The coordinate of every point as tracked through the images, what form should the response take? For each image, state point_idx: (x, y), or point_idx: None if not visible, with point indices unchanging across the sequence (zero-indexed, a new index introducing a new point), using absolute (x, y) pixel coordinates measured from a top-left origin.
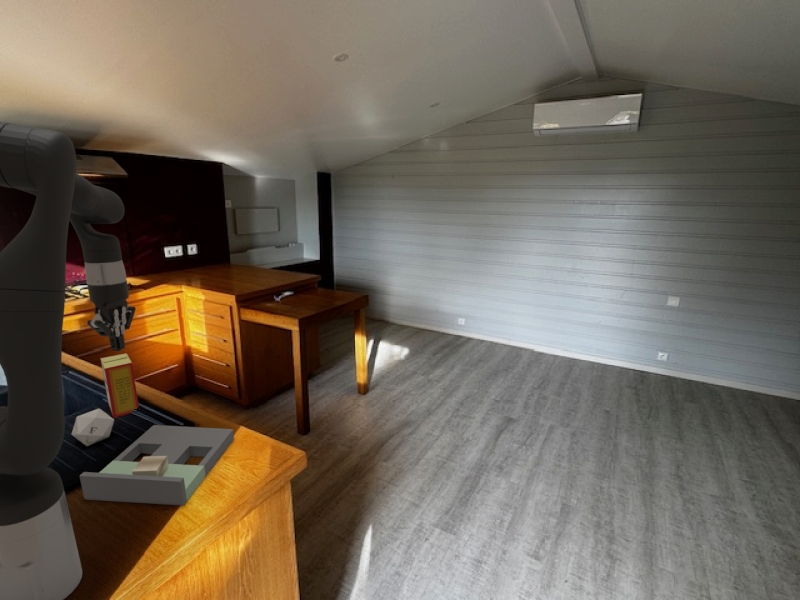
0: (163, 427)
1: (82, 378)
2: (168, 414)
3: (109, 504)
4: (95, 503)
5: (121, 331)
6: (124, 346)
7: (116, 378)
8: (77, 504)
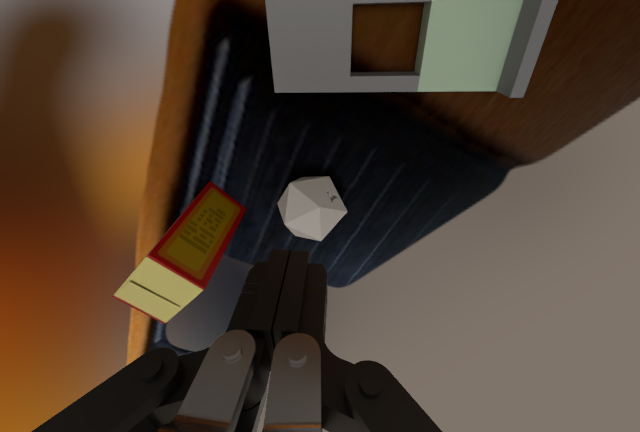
0: (280, 57)
1: None
2: (200, 110)
3: None
4: None
5: (248, 362)
6: (272, 255)
7: (200, 253)
8: None
